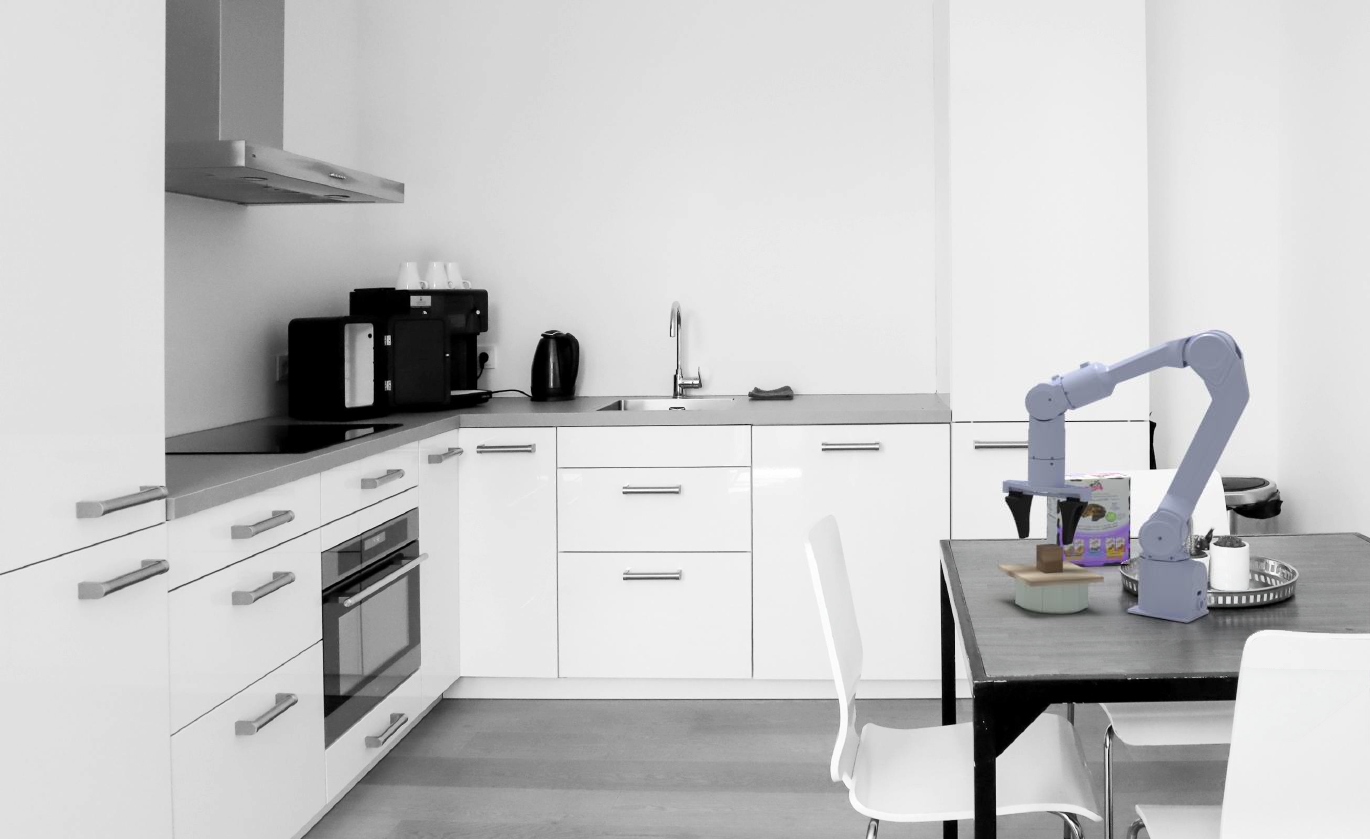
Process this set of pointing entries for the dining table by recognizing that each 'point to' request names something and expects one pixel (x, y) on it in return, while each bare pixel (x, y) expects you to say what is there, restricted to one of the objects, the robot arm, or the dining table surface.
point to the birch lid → (1050, 569)
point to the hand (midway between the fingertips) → (1045, 540)
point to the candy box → (1096, 521)
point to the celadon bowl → (1052, 597)
